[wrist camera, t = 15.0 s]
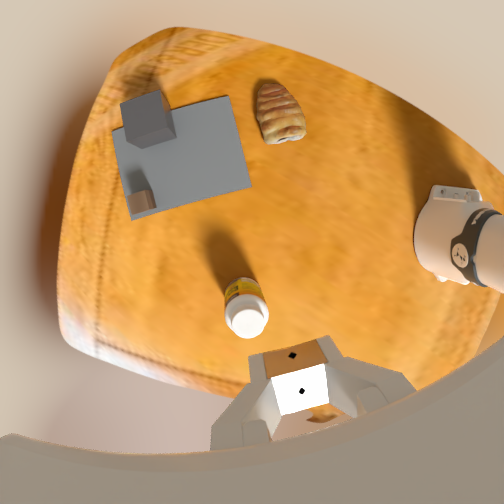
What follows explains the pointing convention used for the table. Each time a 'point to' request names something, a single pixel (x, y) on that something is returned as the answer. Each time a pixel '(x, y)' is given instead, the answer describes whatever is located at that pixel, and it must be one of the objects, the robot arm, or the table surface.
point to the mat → (186, 158)
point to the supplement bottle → (245, 307)
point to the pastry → (279, 115)
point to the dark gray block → (147, 120)
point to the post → (141, 201)
